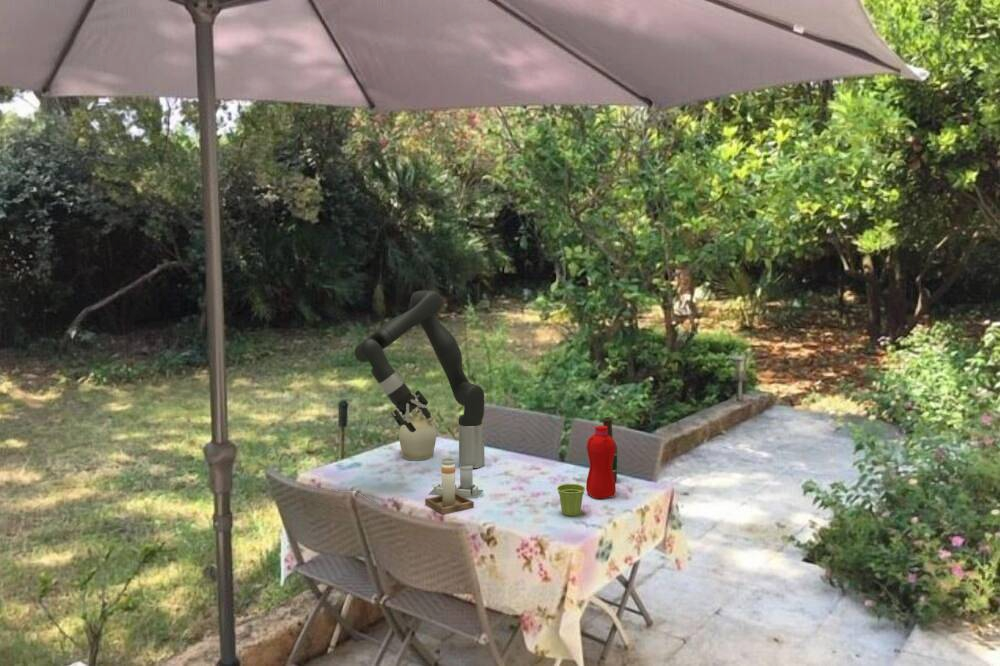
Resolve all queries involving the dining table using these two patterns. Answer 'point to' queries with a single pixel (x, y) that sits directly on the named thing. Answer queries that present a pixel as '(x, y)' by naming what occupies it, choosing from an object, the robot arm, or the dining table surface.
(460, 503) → the tray
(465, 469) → the fuse
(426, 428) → the jug
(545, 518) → the dining table surface
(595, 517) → the dining table surface
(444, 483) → the cylinder
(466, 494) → the clip block
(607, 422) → the beer bottle
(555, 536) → the dining table surface
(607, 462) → the water bottle
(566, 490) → the plant pot
